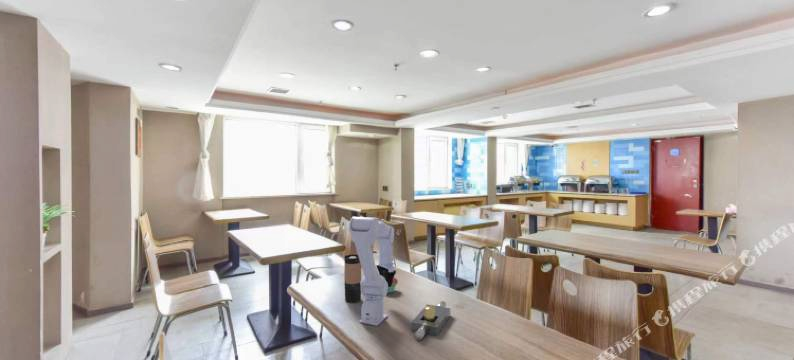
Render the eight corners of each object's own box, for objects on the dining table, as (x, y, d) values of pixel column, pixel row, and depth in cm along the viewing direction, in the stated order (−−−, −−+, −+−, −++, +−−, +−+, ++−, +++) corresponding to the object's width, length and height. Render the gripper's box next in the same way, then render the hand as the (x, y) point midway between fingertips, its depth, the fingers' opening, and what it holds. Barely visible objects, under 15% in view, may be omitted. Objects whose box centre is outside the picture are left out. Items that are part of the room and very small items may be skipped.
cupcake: (390, 295, 159) (390, 270, 159) (376, 291, 164) (376, 267, 164) (401, 290, 166) (401, 266, 166) (387, 286, 171) (387, 263, 171)
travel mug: (362, 297, 157) (362, 254, 156) (359, 303, 150) (359, 258, 149) (346, 296, 158) (346, 254, 157) (342, 302, 150) (342, 258, 150)
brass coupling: (432, 329, 126) (432, 310, 125) (422, 327, 127) (422, 308, 127) (436, 324, 129) (436, 306, 129) (426, 322, 131) (426, 305, 131)
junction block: (431, 343, 115) (431, 335, 115) (404, 337, 119) (404, 329, 119) (454, 310, 143) (454, 303, 142) (431, 306, 147) (431, 299, 147)
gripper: (400, 256, 142) (400, 288, 142) (389, 248, 155) (389, 277, 156) (384, 257, 139) (384, 290, 140) (374, 249, 153) (374, 279, 153)
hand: (385, 283), depth 148 cm, fingers open, 7 cm apart
